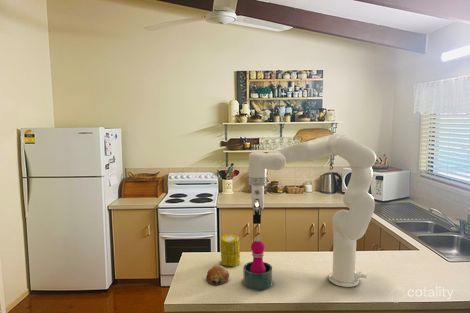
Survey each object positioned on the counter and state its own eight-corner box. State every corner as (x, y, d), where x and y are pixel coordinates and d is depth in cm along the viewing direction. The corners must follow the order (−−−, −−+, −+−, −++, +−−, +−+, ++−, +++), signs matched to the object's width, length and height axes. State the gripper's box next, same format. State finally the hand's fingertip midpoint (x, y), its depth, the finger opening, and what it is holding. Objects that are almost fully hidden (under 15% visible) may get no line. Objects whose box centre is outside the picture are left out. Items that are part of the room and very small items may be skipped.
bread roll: (231, 287, 144) (234, 268, 146) (219, 286, 135) (223, 267, 138) (212, 281, 149) (216, 264, 151) (200, 281, 140) (205, 262, 143)
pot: (271, 276, 146) (271, 261, 146) (272, 290, 134) (272, 274, 133) (244, 275, 148) (244, 260, 147) (242, 289, 135) (242, 273, 134)
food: (239, 262, 165) (236, 272, 155) (218, 256, 166) (213, 265, 156) (246, 235, 162) (243, 243, 152) (224, 229, 163) (219, 237, 153)
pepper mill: (255, 276, 146) (256, 233, 144) (269, 281, 141) (269, 237, 139) (246, 282, 140) (246, 238, 138) (259, 287, 136) (260, 242, 133)
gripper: (266, 185, 127) (266, 226, 129) (266, 177, 144) (265, 214, 146) (247, 184, 128) (247, 226, 130) (249, 177, 145) (249, 214, 147)
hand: (257, 220), depth 138 cm, fingers open, 9 cm apart
